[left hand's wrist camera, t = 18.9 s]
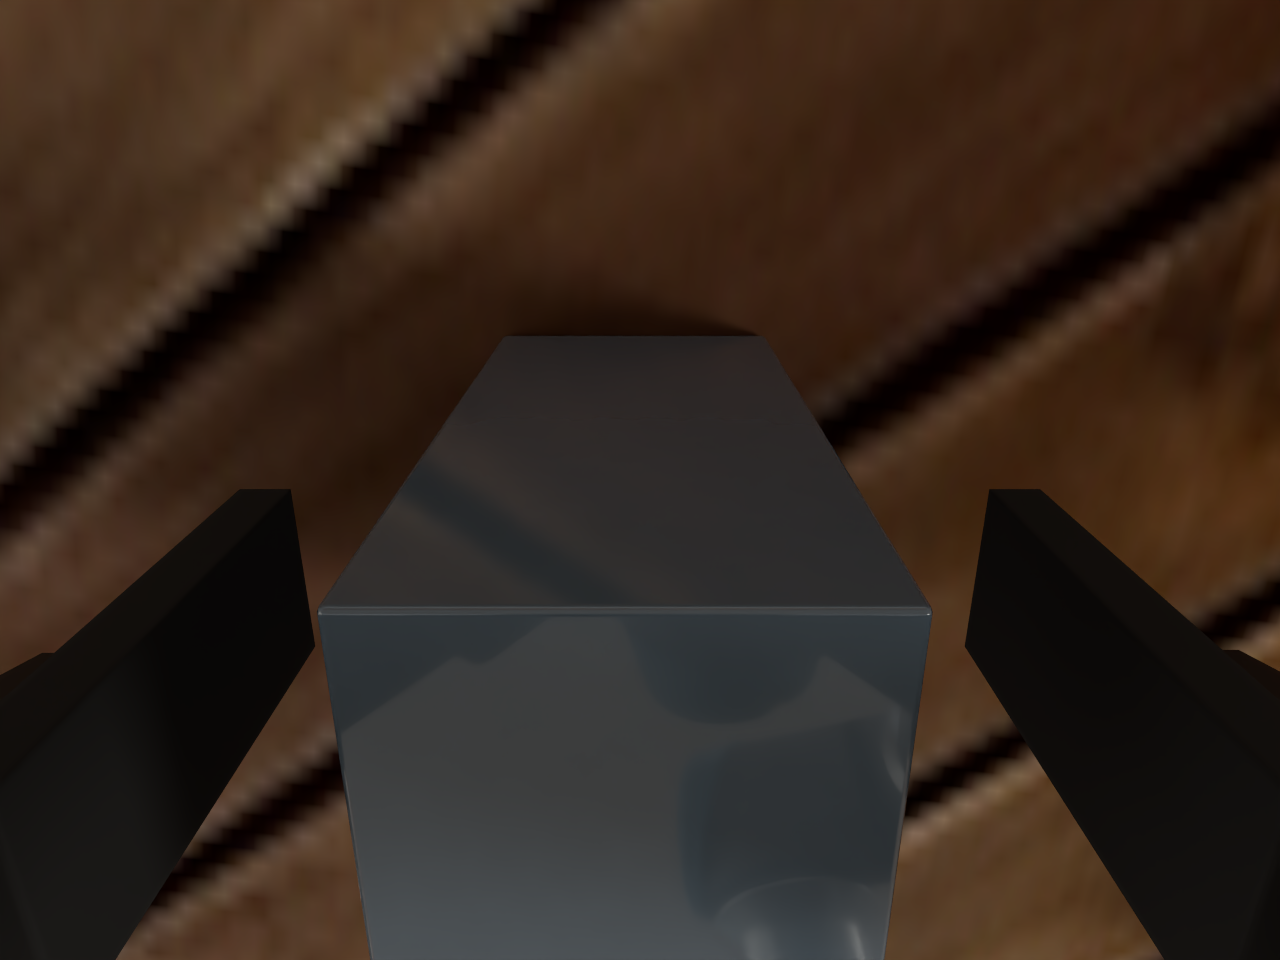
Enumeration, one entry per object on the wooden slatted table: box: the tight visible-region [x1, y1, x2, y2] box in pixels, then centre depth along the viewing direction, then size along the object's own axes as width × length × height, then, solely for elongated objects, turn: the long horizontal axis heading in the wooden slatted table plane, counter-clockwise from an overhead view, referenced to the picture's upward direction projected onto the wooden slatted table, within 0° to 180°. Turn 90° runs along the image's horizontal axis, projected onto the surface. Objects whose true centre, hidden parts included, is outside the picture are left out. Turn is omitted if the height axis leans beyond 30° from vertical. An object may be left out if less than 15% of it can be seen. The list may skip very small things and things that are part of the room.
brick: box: [317, 336, 932, 960], centre depth 12 cm, size 5×6×10 cm
